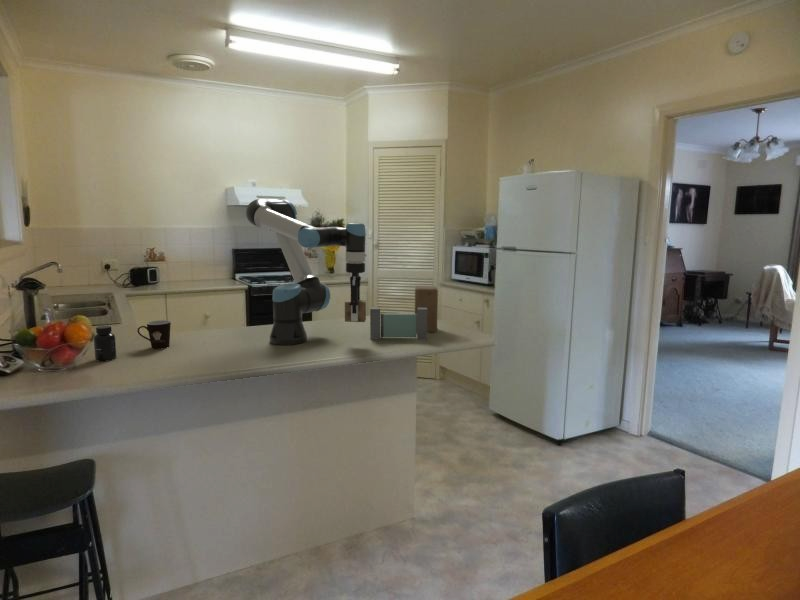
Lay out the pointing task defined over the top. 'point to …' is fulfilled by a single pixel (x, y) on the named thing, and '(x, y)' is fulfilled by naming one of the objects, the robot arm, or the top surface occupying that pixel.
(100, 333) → the supplement bottle
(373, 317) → the hinge post
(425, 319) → the post
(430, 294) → the wooden block
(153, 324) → the coffee mug
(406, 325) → the gate
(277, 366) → the top surface
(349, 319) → the brown rectangular block
